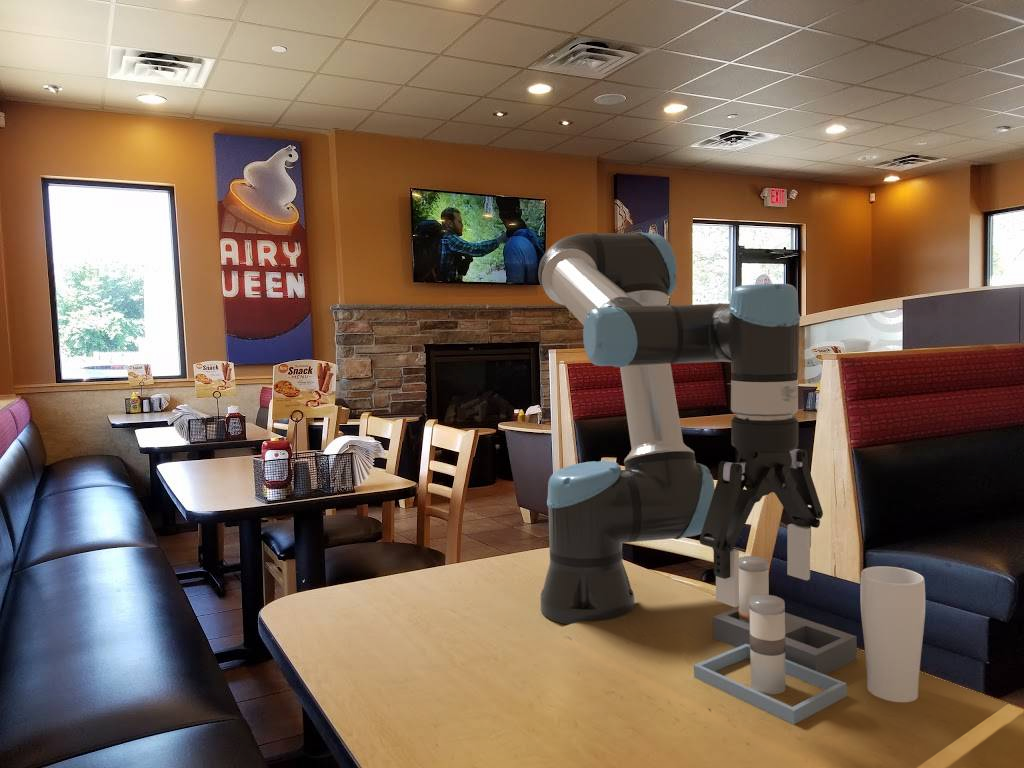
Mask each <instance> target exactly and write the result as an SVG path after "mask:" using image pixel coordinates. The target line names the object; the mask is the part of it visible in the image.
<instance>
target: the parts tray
mask: <svg viewBox="0 0 1024 768" xmlns="http://www.w3.org/2000/svg"><path fill="white" fill-rule="evenodd" d="M746 659H749V660H750V645H749V644H744V645H742V646H739V647H735V648H734V647H733V648H732V649H729V650H727V651H725V652H722V653H720V654H717V655H715V656H713V657H710V658H708V659H706V660H703V661H701V662H698V663H696V664H694V665H693V678H695V679H697V680H699V681H702V682H704V683H705V684H707V685H710V686H712V687H713V688H716V689H719V690H720V691H722V692H725V693H727V694H729V695H730V696H734V697H735V698H737V699H739V700H741V701H743V702H746V703H748V704H749V705H752V706H754V707H756V708H758V709H761V710H762V711H765V712H767V713H768V714H771V715H773V716H775V717H777V718H779V719H781V720H783V721H785V722H787V723H790V724H792V725H796V724H797V723H800V722H802V721H803V720H805V719H807V718H809V717H810V716H813V715H814V714H816V713H818V712H820V711H822V710H824V709H825V708H828V707H829V706H831V705H833V704H834V703H837V702H839V701H841V700H843V699H845V698H846V697H848V695H847V694H848V686H847V685H848V684H847V682H844V681H842V680H840V679H837V678H835V677H831V676H829V675H828V674H826V675H824V674H822V673H819V672H817V671H814V670H812V669H809V668H807V667H804V666H802V665H799V664H797V663H794V662H792V661H789V660H787V659H785V671H786V675H788V676H791V677H793V678H795V679H797V680H800V681H802V682H805V683H808V684H810V685H813V686H815V687H817V688H820V689H822V691H821V692H818V693H817V694H815V695H813V696H811V697H809V698H807V699H805V700H803V701H801V702H799V703H798V704H795V705H793V706H791V705H789V704H787V703H784V702H783V701H780V700H778V699H775V698H773V697H771V696H769V695H768V694H764V693H761V692H758V691H756V690H754V689H753V688H752V687H750V686H746V685H745V684H742V683H741V682H738V681H736V680H734V679H732V678H729V677H727V676H725V675H723V674H721V673H718V672H717V671H719V670H722V669H724V668H726V667H729V666H732V665H733V664H736V663H738V662H740V661H743V660H746Z"/></svg>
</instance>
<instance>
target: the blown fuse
mask: <svg viewBox="0 0 1024 768" xmlns="http://www.w3.org/2000/svg"><path fill="white" fill-rule="evenodd" d="M785 603H786V602H785V600H784V599H783V598H782V597H778V596H777V595H771V594H769V595H755V596H752V597H750V599H749V604H750V659H749V660H750V661H749V662H750V686H751V687H750V688H752V689H754V690H756V691H758V692H760V693H763V694H765V695H780V694H783V693H784V692H786V689H787V688H786V687H787V684H786V681H787V680H786V679H787V678H786V675H787V674H786V671H785V651H786V637H785V613H786V612H785V611H786V609H785V608H786V607H785V605H786V604H785Z"/></svg>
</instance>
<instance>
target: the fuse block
mask: <svg viewBox="0 0 1024 768" xmlns="http://www.w3.org/2000/svg"><path fill="white" fill-rule="evenodd" d="M785 637H786V651H785V659H787V660H789V661H792V662H794V663H797V664H799V665H802V666H804V667H807V668H809V669H812V670H814V671H817V672H819V673H822V674H824V675H828V674H830V673H833V672H834V671H836V670H838V669H839V668H842V667H845V666H846V665H848V664H850V663H852V662H854V661H856V660H857V659H858V657H857V656H858V652H857V651H858V649H857V647H858V646H857V645H858V644H857V643H858V642H857V641H858V640H857V638H858V637H857V635H853V634H850V633H848V632H845V631H842V630H839V629H836V628H833V627H830V626H827V625H825V624H821V623H817V622H815V621H812V620H809V619H806V618H803V617H800V616H796V615H794V614H791V613H788V612H785ZM712 638H713V639H714V640H715V639H716V640H718V641H721V642H723V643H725V644H727V645H730V646H733V647H735V648H737V647H739V646H742V645H744V644H749V645H750V624H749V623H746V622H744V621H741V620H739V606H737V607H734V608H733V609H730V610H727V611H724V612H722V613H720V614H717V615H713V616H712Z"/></svg>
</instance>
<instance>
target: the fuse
mask: <svg viewBox="0 0 1024 768" xmlns="http://www.w3.org/2000/svg"><path fill="white" fill-rule="evenodd" d="M769 581H770V579H769V560H768V559H767V558H765V557H761V556H757V555H756V556H755V555H747V556H746V555H745V556H739V606H738V607H739V620H741V621H744V622H746V623H749V624H750V604H749V599H750V597H752V596H755V595H770V594H769V588H770V586H769V584H770V583H769Z"/></svg>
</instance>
